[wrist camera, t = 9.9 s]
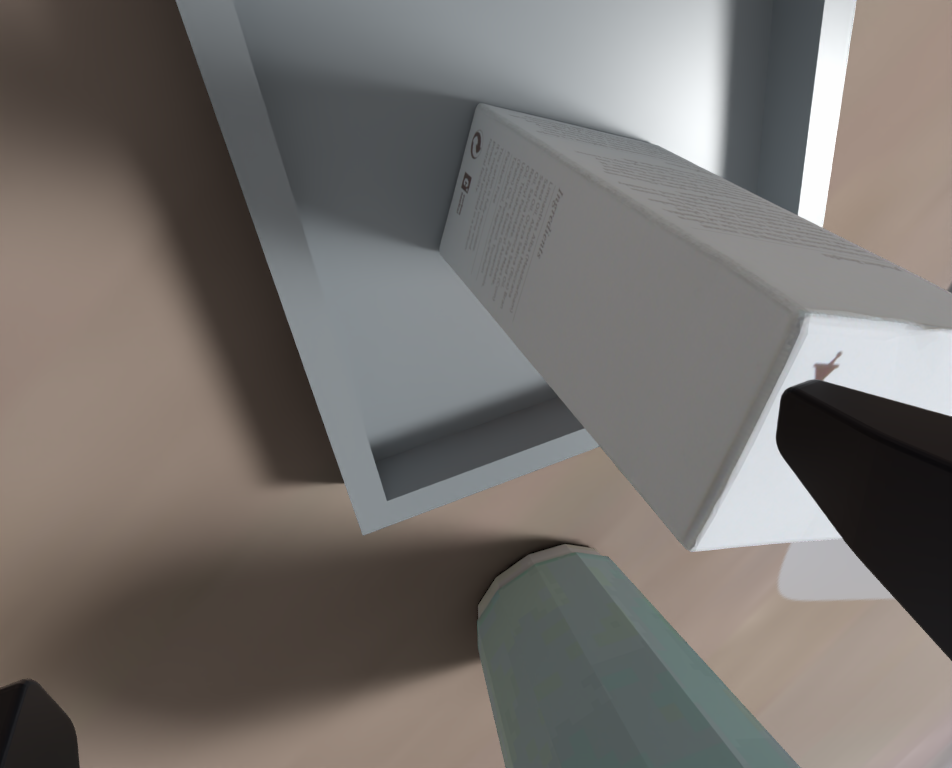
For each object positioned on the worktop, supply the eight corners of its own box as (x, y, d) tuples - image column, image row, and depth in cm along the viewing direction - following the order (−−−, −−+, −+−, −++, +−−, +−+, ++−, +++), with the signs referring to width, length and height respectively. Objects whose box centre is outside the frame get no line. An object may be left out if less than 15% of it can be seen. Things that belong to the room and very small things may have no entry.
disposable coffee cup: (689, 551, 33) (979, 904, 22) (534, 704, 36) (722, 1098, 24) (543, 467, 27) (841, 899, 15) (366, 659, 29) (509, 1164, 18)
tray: (345, 484, 24) (362, 535, 22) (148, -80, 15) (149, -76, 13) (755, 336, 28) (801, 370, 26) (808, -203, 18) (888, -215, 16)
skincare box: (432, 255, 20) (675, 560, 11) (472, 97, 18) (807, 304, 9) (612, 279, 23) (930, 541, 14) (663, 143, 21) (1074, 340, 12)
